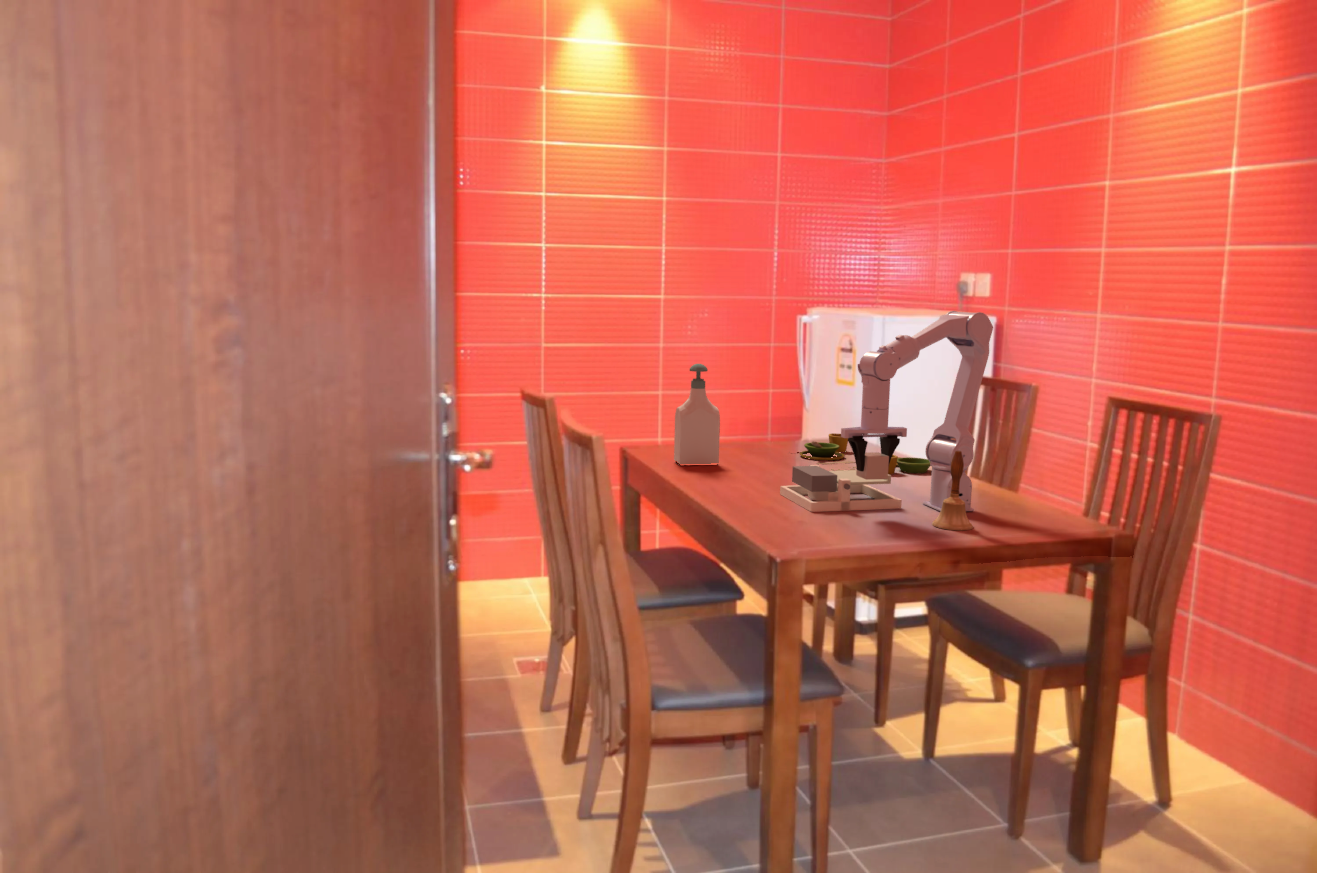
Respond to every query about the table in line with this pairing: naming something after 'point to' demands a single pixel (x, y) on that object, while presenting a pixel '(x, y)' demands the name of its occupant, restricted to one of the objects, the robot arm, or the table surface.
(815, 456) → the tableware set
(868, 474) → the beige cube
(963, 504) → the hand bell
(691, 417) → the soap bottle
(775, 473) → the table surface
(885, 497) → the frame
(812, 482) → the trapdoor
